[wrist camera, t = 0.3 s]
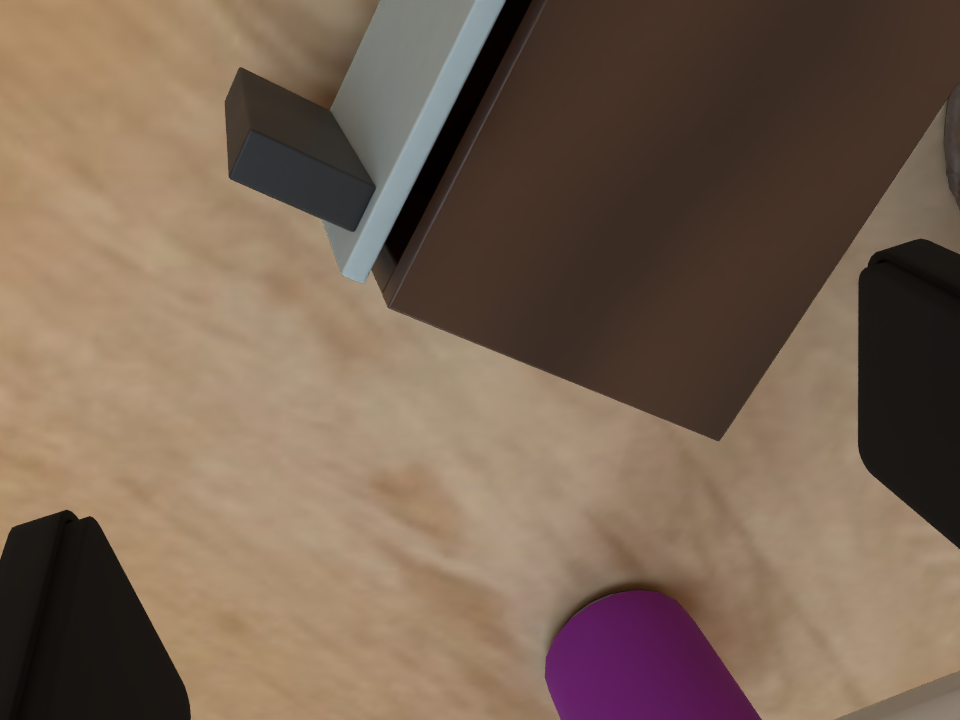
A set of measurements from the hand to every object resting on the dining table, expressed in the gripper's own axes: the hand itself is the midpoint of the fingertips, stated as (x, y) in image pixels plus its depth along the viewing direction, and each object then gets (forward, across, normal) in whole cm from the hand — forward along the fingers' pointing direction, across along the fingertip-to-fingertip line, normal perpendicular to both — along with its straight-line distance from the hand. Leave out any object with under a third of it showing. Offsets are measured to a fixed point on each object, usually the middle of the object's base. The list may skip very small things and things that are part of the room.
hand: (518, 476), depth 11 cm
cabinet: (+22, -9, -1) cm, 23 cm away
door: (+21, -1, -3) cm, 21 cm away
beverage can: (+22, -6, +28) cm, 36 cm away
